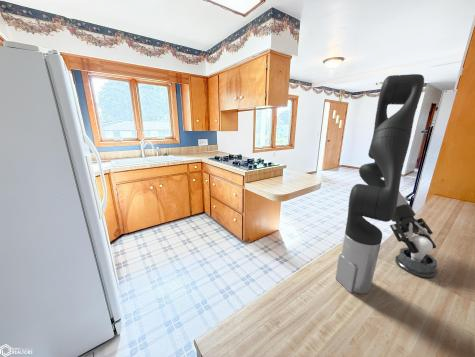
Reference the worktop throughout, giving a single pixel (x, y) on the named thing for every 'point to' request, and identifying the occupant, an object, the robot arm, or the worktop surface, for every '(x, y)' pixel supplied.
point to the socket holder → (417, 264)
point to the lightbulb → (421, 247)
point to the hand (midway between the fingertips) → (424, 250)
